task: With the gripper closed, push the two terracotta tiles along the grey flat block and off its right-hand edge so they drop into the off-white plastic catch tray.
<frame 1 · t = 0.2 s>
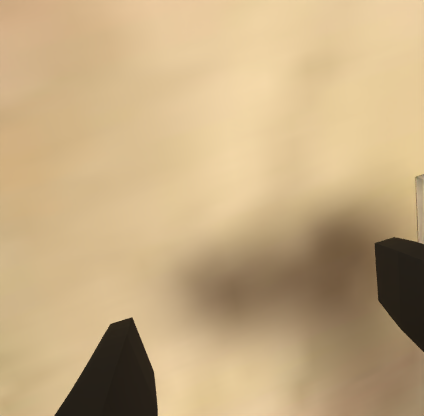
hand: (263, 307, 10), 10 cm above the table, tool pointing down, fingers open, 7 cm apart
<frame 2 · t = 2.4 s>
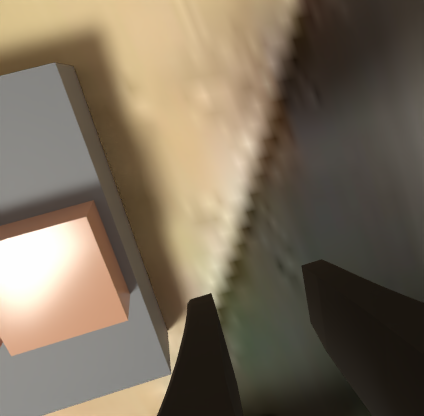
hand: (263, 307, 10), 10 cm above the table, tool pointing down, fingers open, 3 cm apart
grey flat block: (18, 249, 19), on the table
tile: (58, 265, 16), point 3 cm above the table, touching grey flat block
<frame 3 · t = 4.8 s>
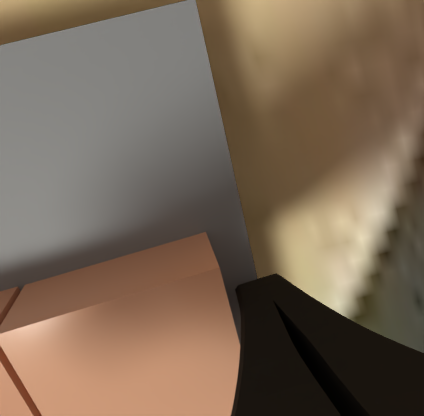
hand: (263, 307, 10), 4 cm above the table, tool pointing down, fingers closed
grey flat block: (85, 288, 13), on the table
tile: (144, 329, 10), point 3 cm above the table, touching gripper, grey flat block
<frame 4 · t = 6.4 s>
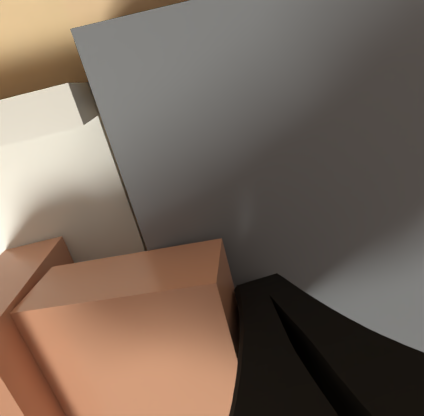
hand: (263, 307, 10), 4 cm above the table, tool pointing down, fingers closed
grey flat block: (309, 221, 14), on the table
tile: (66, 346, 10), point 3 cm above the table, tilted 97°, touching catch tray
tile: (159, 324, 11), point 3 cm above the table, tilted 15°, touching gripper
catch tray: (10, 334, 14), on the table
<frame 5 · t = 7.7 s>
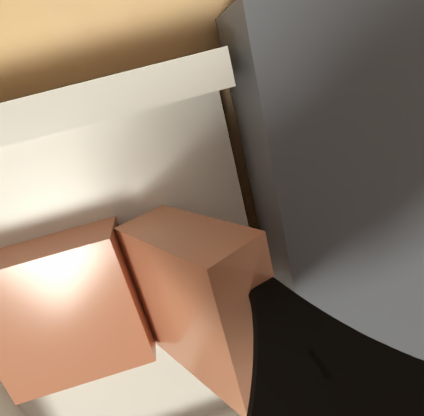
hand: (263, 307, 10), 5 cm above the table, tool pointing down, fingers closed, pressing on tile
grey flat block: (393, 193, 15), on the table
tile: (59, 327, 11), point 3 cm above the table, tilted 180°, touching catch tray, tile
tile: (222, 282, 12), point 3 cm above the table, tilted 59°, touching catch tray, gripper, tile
catch tray: (113, 298, 14), on the table
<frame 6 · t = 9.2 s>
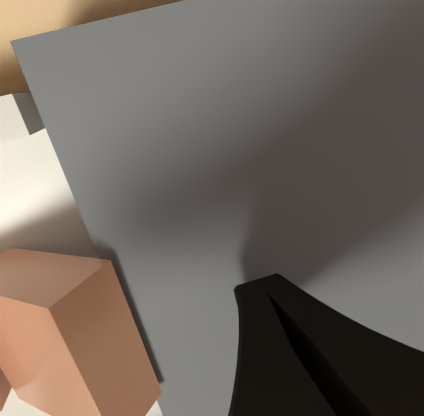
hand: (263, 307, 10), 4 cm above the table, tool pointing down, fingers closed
grey flat block: (275, 227, 14), on the table
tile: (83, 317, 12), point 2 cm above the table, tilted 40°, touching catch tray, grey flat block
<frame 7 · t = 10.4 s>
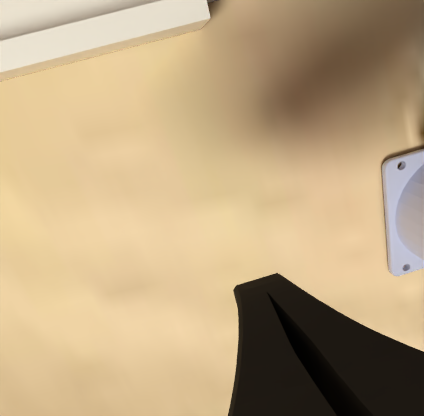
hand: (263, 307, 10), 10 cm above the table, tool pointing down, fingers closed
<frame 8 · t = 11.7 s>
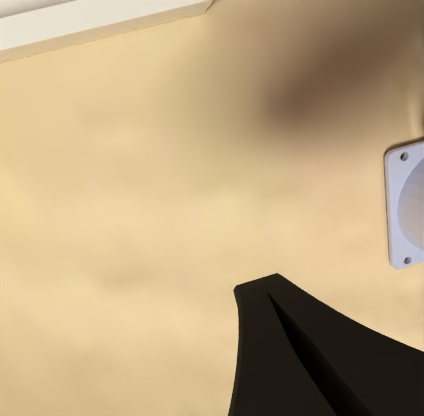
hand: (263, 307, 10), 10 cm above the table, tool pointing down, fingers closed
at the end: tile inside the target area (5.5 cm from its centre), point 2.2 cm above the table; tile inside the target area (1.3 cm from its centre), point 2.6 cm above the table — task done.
